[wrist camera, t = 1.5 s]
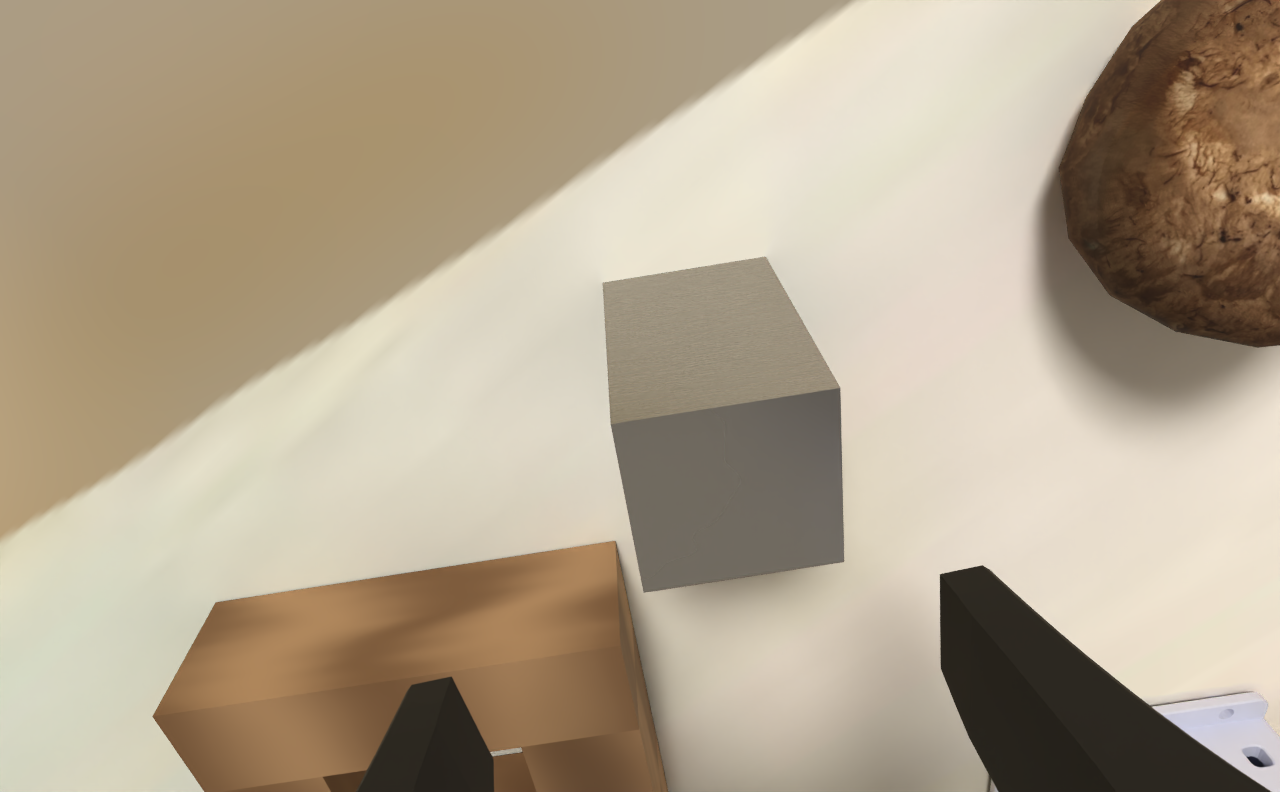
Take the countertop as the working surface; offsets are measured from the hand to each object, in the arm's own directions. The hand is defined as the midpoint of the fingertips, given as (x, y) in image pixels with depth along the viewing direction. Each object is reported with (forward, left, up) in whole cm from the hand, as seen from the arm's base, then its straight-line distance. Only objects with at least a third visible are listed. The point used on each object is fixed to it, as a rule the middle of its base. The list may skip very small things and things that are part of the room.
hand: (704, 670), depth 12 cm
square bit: (-1, 0, -10) cm, 10 cm away
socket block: (+8, +12, -10) cm, 17 cm away
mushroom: (-13, -4, -10) cm, 17 cm away
